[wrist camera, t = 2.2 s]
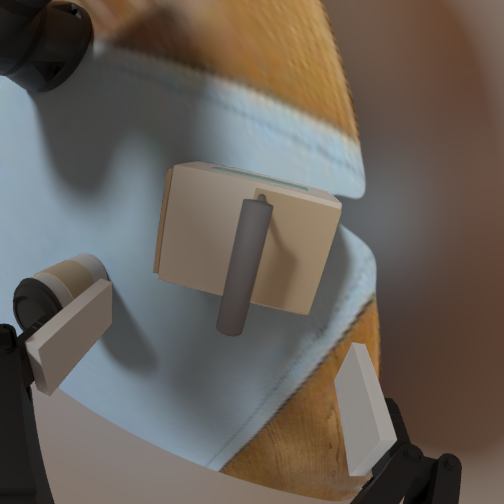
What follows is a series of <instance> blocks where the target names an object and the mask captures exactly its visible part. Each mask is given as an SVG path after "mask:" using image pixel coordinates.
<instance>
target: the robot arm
mask: <svg viewBox="0 0 504 504" xmlns="http://www.w3.org/2000/svg"><path fill="white" fill-rule="evenodd" d="M90 34H91V21H90V17H89V15H88V13H87V12H86V10H85V9H83V8H82V7H80V6H78V5H76V4H74V3H72V2H66V1H52V0H0V75H2V76H6V77H8V78H9V79H10V80H12V81H13V82H15V83H16V84H18V85H19V86H20V87H22V88H24V89H26V90H29V91H37V92H44V91H48V90H51V89H53V88H55V87H57V86H58V85H60V84H61V83H62V82H63V81H65V80H66V79H67V78H68V77H69V76H70V75H71V73H72V72H73V71H74V70H75V68H76V67H77V66H78V64H79V62H80V61H81V59H82V57H83V55H84V53H85V51H86V49H87V46H88V43H89V39H90ZM111 324H112V282H110V281H107V280H104V279H99V280H98V281H97V282H96V283H94V284H93V285H92V286H91V287H89V288H88V289H87V290H86V291H84V292H83V293H82V294H81V295H79V296H78V297H77V298H76V299H74V300H73V301H72V302H71V303H70V304H68V305H67V306H66V307H65V308H64V309H62V310H61V311H60V312H59V313H58V314H55V313H52V312H51V313H49V314H46V315H44V316H42V317H41V318H40V319H38V320H37V322H35V323H34V324H32V325H31V326H30V327H29V328H28V329H26V330H25V331H24V332H23V333H22V334H21V335H19V336H18V337H17V335H16V330H15V328H14V327H13V326H12V325H9V324H0V504H55V503H54V500H53V497H52V493H51V490H50V487H49V483H48V479H47V475H46V471H45V467H44V463H43V459H42V455H41V450H40V444H39V439H38V434H37V428H36V422H35V415H34V407H33V399H32V390H31V387H30V385H31V384H32V382H33V381H34V380H35V384H36V387H37V389H38V390H39V391H41V392H43V393H45V394H46V395H48V396H51V395H52V393H53V392H54V391H55V389H56V388H57V387H58V386H59V385H60V384H61V382H62V381H63V380H64V379H65V378H66V376H67V375H68V374H69V373H70V372H71V370H72V369H73V368H74V367H75V366H76V365H77V363H78V362H79V361H80V360H81V359H82V358H83V356H84V355H85V354H86V353H87V352H88V351H89V349H90V348H91V347H92V346H93V345H94V344H95V343H96V341H97V340H98V339H99V338H100V337H101V336H102V335H103V333H104V332H105V331H106V330H107V329H108V328H109V327H110V326H111ZM334 382H335V388H336V393H337V399H338V405H339V411H340V417H341V423H342V430H343V436H344V443H345V449H346V456H347V463H348V471H349V476H366V475H367V473H368V472H369V471H370V470H371V469H372V474H373V477H372V478H371V479H370V480H369V481H368V482H367V483H366V484H365V485H364V486H363V487H362V490H361V491H360V492H359V493H358V495H357V496H356V497H355V498H354V499H353V501H352V502H351V503H350V504H399V503H400V502H401V500H402V499H403V497H404V496H405V497H404V501H403V504H458V502H459V493H460V484H461V470H462V466H461V462H460V460H459V459H458V458H457V457H456V456H455V455H453V454H449V453H446V454H443V455H442V456H440V458H439V459H433V458H429V457H425V456H424V455H423V453H422V451H421V449H419V448H418V447H417V446H415V445H413V444H411V442H410V439H409V436H408V434H407V431H406V428H405V425H404V422H403V419H402V416H401V413H400V411H399V408H398V405H397V404H396V403H395V402H394V401H393V399H391V398H384V397H383V394H382V391H381V388H380V385H379V382H378V379H377V376H376V373H375V370H374V368H373V365H372V362H371V359H370V356H369V354H368V351H367V348H366V346H365V344H359V343H353V342H352V344H351V346H350V349H349V351H348V353H347V355H346V357H345V359H344V361H343V363H342V366H341V368H340V370H339V372H338V374H337V376H336V378H335V380H334Z"/></svg>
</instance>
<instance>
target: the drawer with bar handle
mask: <svg viewBox="0 0 504 504" xmlns="http://www.w3.org/2000/svg"><path fill="white" fill-rule="evenodd" d="M341 211H342V210H341V209H338V208H335V207H331V206H327V205H324V204H320V203H316V202H312V201H309V200H305V199H301V198H297V197H293V196H289V195H285V194H281V193H277V192H273V191H269V190H265V189H260V188H256V190H255V194H254V198H253V199H243V203H242V208H241V212H240V217H239V221H238V226H237V230H236V235H235V240H234V244H233V249H232V253H231V258H230V263H229V268H228V272H227V277H226V282H225V287H224V291H223V296H222V301H221V306H220V311H219V316H218V321H217V326H216V327H217V330H218V331H219V332H221V333H222V334H224V335H227V336H238V335H240V334H241V333H242V331H243V327H244V323H245V319H246V315H247V312H248V308H249V304H250V301H252V302H256V303H260V304H264V305H269V306H273V307H277V308H282V309H286V310H290V311H295V312H299V313H304V314H309V311H310V309H311V306H312V303H313V300H314V297H315V294H316V291H317V288H318V285H319V282H320V279H321V276H322V273H323V270H324V267H325V264H326V261H327V257H328V254H329V251H330V248H331V245H332V241H333V238H334V235H335V232H336V228H337V225H338V221H339V218H340V214H341Z"/></svg>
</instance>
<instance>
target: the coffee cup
mask: <svg viewBox="0 0 504 504" xmlns="http://www.w3.org/2000/svg"><path fill="white" fill-rule="evenodd" d="M99 279H104V280H107V273H106V270H105V267H104V266H103V264H102V263H101V261H100V260H99V259H98V258H97V257H95V256H94V255H91V254H88V253H83V254H80V255H78V256H75V257H73V258H71V259H69V260H65V261H63V262H61V263H58V264H56V265H54V266H52V267H49V268H47V269H45V270H43V271H41V272H39V273H36V274H35V275H34V276H33V277H31V278H26V279H23V280H22V281H21V282H20V284H19V285H18V286H17V288H16V290H15V292H14V299H13V311H14V315H15V318H16V321H17V323H18V325H19V326H20V328H21V329H22V330H23V332H24V331H25V330H26V329H28V328H29V327H30V326H31V325H32V324H34V323H35V322H37V320H38V319H40V318H41V317H42V316H44V315H46V314H49V313H51V312H52V313H55V314H58V313H59V312H60V311H61V310H62V309H64V308H65V307H66V306H67V305H68V304H70V303H71V302H72V301H73V300H74V299H76V298H77V297H78V296H79V295H81V294H82V293H83V292H84V291H86V290H87V289H88V288H89V287H91V286H92V285H93V284H94V283H96V282H97V281H98V280H99Z"/></svg>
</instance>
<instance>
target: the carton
mask: <svg viewBox="0 0 504 504" xmlns="http://www.w3.org/2000/svg"><path fill="white" fill-rule="evenodd" d="M256 188H260V189H265V190H269V191H273V192H277V193H281V194H285V195H289V196H293V197H297V198H301V199H305V200H309V201H312V202H316V203H320V204H324V205H327V206H331V207H335V208H338V209H341V206H342V203H340V202H339V201H338V200H337V199H336V198H335V197H334V196H333V195H332V194H330V193H329V192H328V191H325V190H322V189H318V188H314V187H310V186H307V185H303V184H299V183H295V182H291V181H287V180H283V179H279V178H275V177H271V176H267V175H262V174H258V173H254V172H249V171H245V170H240V169H236V168H231V167H226V166H222V165H217V164H212V163H207V162H202V161H194V162H188V163H182V164H176V165H174V167H173V168H168V171H167V176H166V182H165V188H164V195H163V201H162V208H161V214H160V222H159V229H158V237H157V245H156V253H155V262H154V272H153V273H157V274H158V279H159V280H163V281H167V282H170V283H174V284H178V285H181V286H185V287H189V288H193V289H196V290H200V291H204V292H208V293H212V294H216V295H220V296H223V291H224V287H225V282H226V277H227V272H228V268H229V263H230V258H231V253H232V249H233V244H234V240H235V235H236V230H237V226H238V221H239V217H240V212H241V208H242V203H243V199H253V198H254V194H255V190H256ZM250 303H252V304H256V305H261V306H265V307H269V308H274V309H278V310H282V311H287V312H291V313H296V314H300V315H305V316H307V314H304V313H299V312H295V311H290V310H286V309H282V308H277V307H273V306H269V305H264V304H260V303H256V302H252V301H250Z"/></svg>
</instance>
